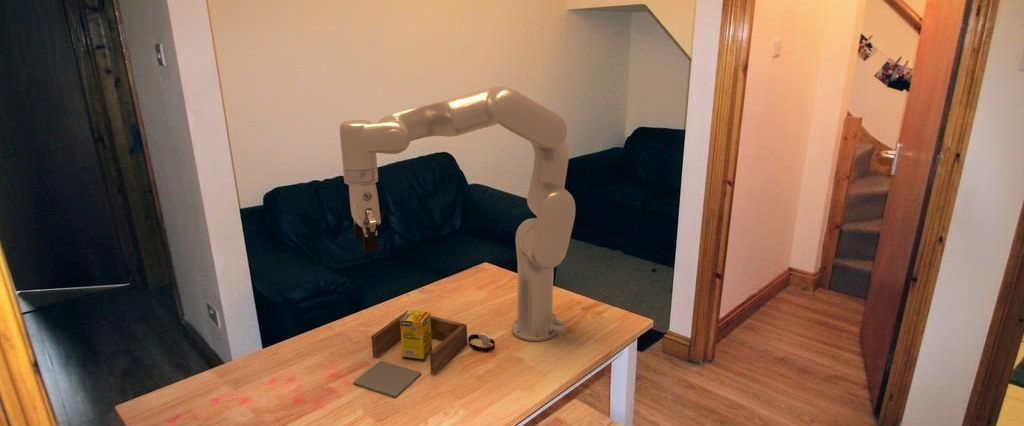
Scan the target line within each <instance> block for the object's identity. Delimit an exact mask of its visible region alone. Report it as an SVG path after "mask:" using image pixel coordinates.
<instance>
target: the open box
mask: <svg viewBox="0 0 1024 426" xmlns="http://www.w3.org/2000/svg"><path fill="white" fill-rule="evenodd" d="M408 310H409V309H408ZM408 310H406V311H405V312H403V313H402V314H400V315H399V316H398V317H396V318H395V319H394V320H392V321H391V322H389V323H387V324H386V325H385V326H383V327H382V328H380V329H379V330H378V331H376V332H374V333H373V334H372V335H371V345H372V346H371V348H372V358H374V359H378V358H380V357H381V356H382V355H384V354H385V353H386V352H387V351H389V350H390V349H392V348H393V347H394V346H395V345H397V344H398V343H399V342H401V328H400V320H401V319H402V317H403V316H404V315H405V314H406V313H407V312H408ZM430 318H431V340H436V341H440V343H439V344H437V346H435V347H434V348H432V350H431V351H430V353H429V361H430V362H429V365H430V376H431V375H432V376H434V377H436V376H437V375H438V374H439V373H440V372H441V371H442V370H443V369H444V368H445V367H446V366H447V365H448V364H450V362H451V361H452V360H453V359H454V358H456V356H458V355H459V354H460V353H461V352H462V350H463V351H464V349H465V348H466V347H467V346H468V329H467V328H468V326H467V324H465V323H461V322H456V321H454V320H449V319H445V318H441V317H436V316H433V315H430Z"/></svg>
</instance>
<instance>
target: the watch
mask: <svg viewBox="0 0 1024 426" xmlns="http://www.w3.org/2000/svg"><path fill="white" fill-rule="evenodd" d="M473 340H480V341H481V343H483V344H485V343H486V345H489V344H491V346H485V347H484V346H483V347H482V346H480V345H476V344H473V343H472V342H471V341H473ZM467 343H468V346H469V347H470V348H471V349H472V350H475V351H478V352H481V351H483V353H488V352H493V351H494V350H495V348H496V343H495V340H494V338H493V339H492V338H491V337H490V335H488V334H487V333H485V332H483V333H480V334H474V333H473V334H471V335H469V336H467Z"/></svg>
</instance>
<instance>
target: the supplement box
mask: <svg viewBox="0 0 1024 426" xmlns="http://www.w3.org/2000/svg"><path fill="white" fill-rule="evenodd" d="M430 316H431V311H427V310H416V309H408V312H407V313H406V314H405V315H404V316H403V317H402V319H401V320H400V328H401V340H400V342H401V343H400V344H401V356H402V357H401V358H402V359H403V360H407V361H408V360H409V361H416V362H425V360H426V359H427V358H428V356H429V355H430V352H431V351H432V350H433V346H432V345H433V344H432V340H433V339H431V318H430Z"/></svg>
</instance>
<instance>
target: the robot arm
mask: <svg viewBox="0 0 1024 426" xmlns="http://www.w3.org/2000/svg"><path fill="white" fill-rule="evenodd" d="M495 125H496V126H497V125H499V126H501V127H503V128H504V129H506V130H508V131H510V132H512V133H513V134H514V135H517V136H518V137H520V138H523V139H524V140H526V141H528V142H529V143H531V145H532V148H533V152H534V161H533V162H534V163H533V167H532V168H533V169H532V174H531V179H530V183H529V187H528V193H527V198H526V204H527V206H528V208H529V209H530V211H531V212H532V213H533V215H535V216H536V217H533V218H528V219H526V220H524V221H523V222H522V223H520V225H519V226H518V227H517V229H516V231H515V247H516V248H515V250H516V260H517V298H516V299H517V305H516V306H517V307H516V308H517V309H516V310H517V314H516V315H517V317H516V318H517V319H515V320H514V321H513V322H512V324H511V332H512V333H513V335H514V336H516V337H517V338H519V339H520V340H523V341H524V340H525V341H529V342H540V341H541V342H543V341H546V340H547V341H548V340H550V339H552V338H553V337H555V336H556V335H557V334H558V333H561V334H566V331H567V326H566V325H565V324H566V322H564V321H560V320H559V321H558V319H556V314H555V313H553V299H554V297H553V295H554V290H553V289H554V269H555V268H556V267H557V266H558V265H560V264H561V263H562V261H563V260H564V258H565V257H566V255H567V252H568V248H569V244H570V240H571V236H572V235H571V234H572V232H573V227H574V223H575V219H576V203H575V200H574V197H573V195H572V194H571V193H570V192H569V191H568V190H567V189H566V188H565V186H566V185H565V184H566V179H567V171H568V166H569V147H568V144H567V140H566V137H567V135H568V127H567V126H568V125H567V124H566V121H565V120H564V118H563V117H562V116H561V115H560V114H558V113H556V112H554V111H553V110H551V109H549V108H547V107H545V106H543V105H541V104H540V103H538V102H537V101H534V100H532V99H531V98H529V97H528V96H526V95H524V94H522V93H521V92H519V91H517V90H515V89H512V88H510V87H506V86H494V87H490V88H486V89H482V90H479V91H476V92H472V93H467V94H465V95H462V96H458V97H454V98H450V99H447V100H442V101H438V102H435V103H431V104H427V105H422V106H419V107H414V108H410V109H406V110H404V111H403V110H402V111H400V112H396V113H392V114H389V115H386V116H384V117H382V118H380V119H379V120H378V121H377V122H371V121H369V120H366V119H365V120H364V119H361V120H360V119H352V120H351V119H350V120H346V121H343V122H341V124H340V126H339V138H340V139H339V141H340V147H341V148H340V150H341V160H342V170H343V171H342V172H343V182H344V184H346V185H348V189H349V190H348V193H349V204H350V212H351V217H352V219H353V232H354V239H355V240H356V241H363V251H364V253H365V254H370V253H376V252H379V250H380V249H379V248H380V247H379V235H378V229H377V226H378V225H381V222H382V221H381V212H380V203H379V196H378V190H377V185H376V183H377V182H379V174H378V173H379V172H378V162H377V159H378V158H377V154H384V155H385V154H387V155H398V154H401V153H403V152H405V151H406V150H407V149H408V148H409V146H410V143H411V142H413V141H416V140H417V141H418V140H420V139H423V138H424V139H425V138H429V137H448V138H449V137H458V136H463V135H465V134H469V133H471V132H475V131H478V130H482V129H484V128H489V127H492V126H495Z"/></svg>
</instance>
